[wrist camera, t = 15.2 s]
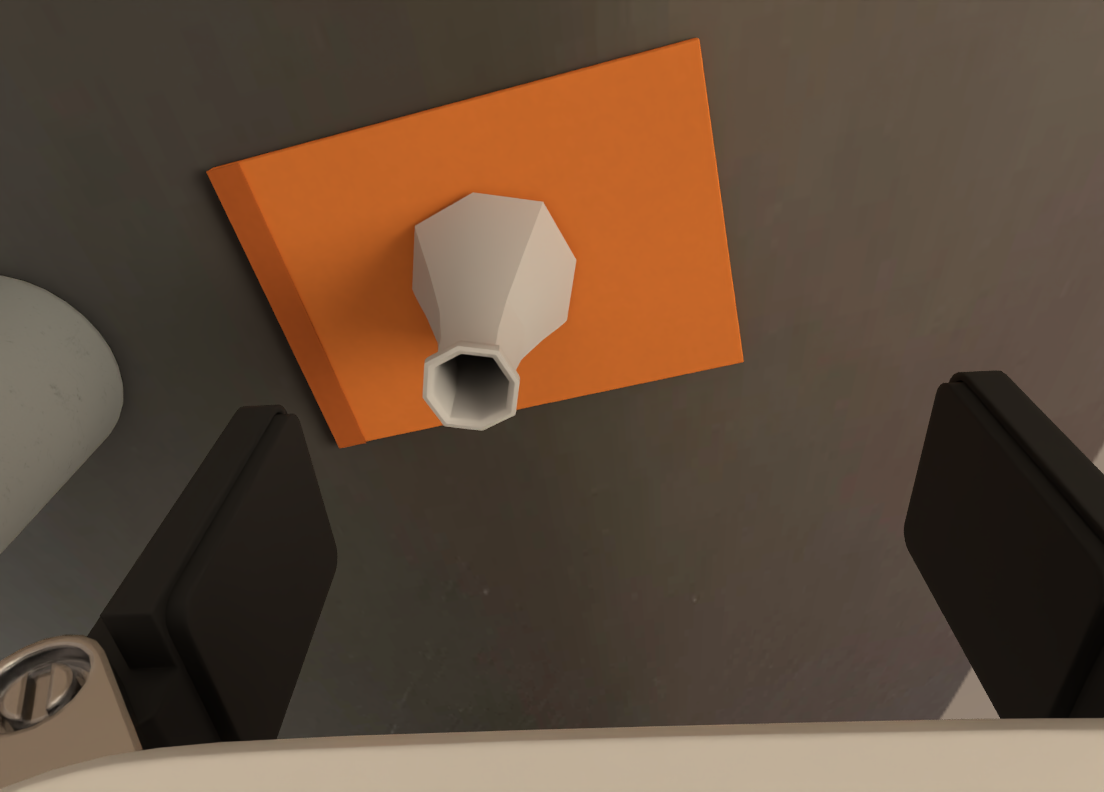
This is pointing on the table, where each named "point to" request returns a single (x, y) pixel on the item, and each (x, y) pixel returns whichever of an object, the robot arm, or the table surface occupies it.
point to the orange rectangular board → (511, 171)
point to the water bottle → (48, 399)
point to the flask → (487, 301)
